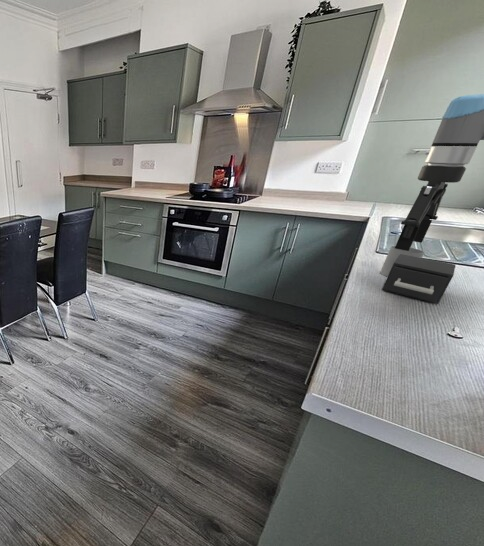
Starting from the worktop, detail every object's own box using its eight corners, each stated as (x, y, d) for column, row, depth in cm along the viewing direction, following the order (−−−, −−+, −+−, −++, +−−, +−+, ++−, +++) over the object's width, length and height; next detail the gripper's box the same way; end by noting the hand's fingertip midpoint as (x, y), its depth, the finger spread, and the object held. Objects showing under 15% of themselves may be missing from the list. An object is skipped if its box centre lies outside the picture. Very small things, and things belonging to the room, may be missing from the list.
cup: (408, 282, 108) (421, 255, 104) (377, 274, 114) (388, 248, 110) (413, 276, 112) (426, 250, 108) (383, 269, 118) (394, 244, 115)
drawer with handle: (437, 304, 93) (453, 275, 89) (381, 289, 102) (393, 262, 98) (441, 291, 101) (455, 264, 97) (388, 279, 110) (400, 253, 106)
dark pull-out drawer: (434, 308, 88) (447, 284, 85) (381, 294, 96) (391, 271, 93) (439, 291, 99) (450, 268, 96) (390, 279, 107) (400, 258, 104)
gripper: (434, 162, 87) (403, 235, 96) (410, 165, 75) (376, 249, 83) (475, 164, 82) (438, 241, 90) (457, 167, 69) (415, 257, 77)
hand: (408, 245), depth 87 cm, fingers open, 13 cm apart
